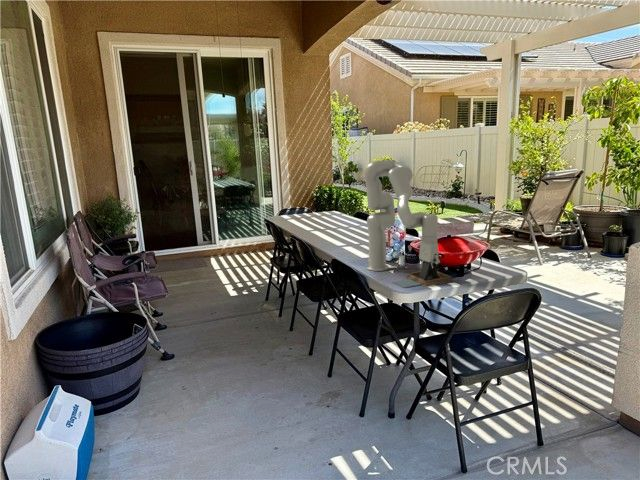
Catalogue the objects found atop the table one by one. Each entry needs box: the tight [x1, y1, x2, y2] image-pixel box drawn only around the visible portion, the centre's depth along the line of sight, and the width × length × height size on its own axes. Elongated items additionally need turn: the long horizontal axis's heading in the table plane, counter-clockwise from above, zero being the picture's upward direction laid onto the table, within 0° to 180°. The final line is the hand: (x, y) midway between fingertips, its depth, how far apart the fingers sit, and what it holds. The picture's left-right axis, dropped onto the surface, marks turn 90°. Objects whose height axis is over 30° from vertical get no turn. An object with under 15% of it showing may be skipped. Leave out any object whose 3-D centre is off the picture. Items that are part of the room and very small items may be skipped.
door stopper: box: [418, 260, 439, 281], centre depth 225 cm, size 9×6×12 cm, turn 105°
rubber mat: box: [392, 278, 422, 289], centre depth 221 cm, size 10×10×1 cm
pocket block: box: [406, 270, 453, 287], centre depth 226 cm, size 16×16×2 cm
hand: (428, 273), depth 225 cm, fingers closed on door stopper, 6 cm apart
